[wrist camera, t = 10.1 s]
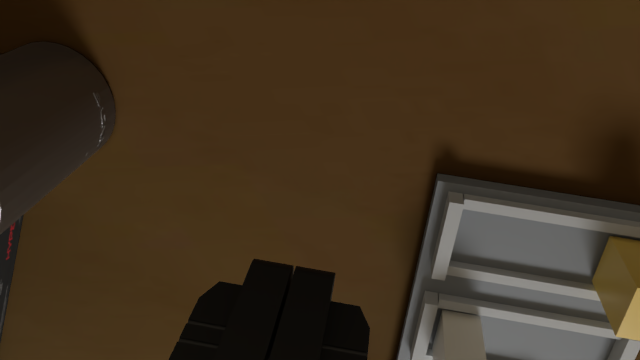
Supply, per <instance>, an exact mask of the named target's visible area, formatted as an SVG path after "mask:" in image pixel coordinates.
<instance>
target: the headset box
mask: <svg viewBox="0 0 640 360" xmlns="http://www.w3.org/2000/svg"><path fill="white" fill-rule="evenodd" d="M22 220H23V215H22V216H21V217H20V218H19V219H18V220H17V221H15V222H14V223H13V224H12V225H11V226H10V227H8V228H7V229H6V230H5V231H4V232H3V233H2V234H0V341H1V336H2V330H3V325H4V319H5V314H6V308H7V303H8V297H9V291H10V285H11V280H12V275H13V270H14V264H15V259H16V253H17V248H18V242H19V237H20V231H21V225H22Z"/></svg>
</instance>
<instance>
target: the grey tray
mask: <svg viewBox="0 0 640 360" xmlns="http://www.w3.org/2000/svg"><path fill="white" fill-rule="evenodd" d="M610 236H614V237H620V238H626V239H632V240H638V241H640V205H634V204H628V203H621V202H615V201H609V200H602V199H596V198H590V197H583V196H577V195H571V194H565V193H558V192H552V191H546V190H539V189H533V188H527V187H520V186H514V185H508V184H502V183H495V182H489V181H483V180H476V179H470V178H464V177H458V176H451V175H445V174H439V173H437V178H436V182H435V187H434V191H433V195H432V200H431V204H430V209H429V213H428V218H427V222H426V227H425V231H424V236H423V240H422V245H421V249H420V254H419V258H418V263H417V267H416V271H415V276H414V280H413V285H412V289H411V294H410V298H409V303H408V307H407V312H406V316H405V321H404V325H403V330H402V334H401V339H400V343H399V347H398V352H397V356H396V360H433V351H432V347H433V343H434V339H435V335H436V331H437V327H438V324H439V320H440V316H441V312H442V310H448V311H453V312H459V313H465V314H470V315H476V316H480V318H481V325H482V332H483V339H484V346H485V353H486V360H635V358H636V356H637V354H638V352H639V349H640V341H638V340H632V339H626V338H621V337H616V336H615V334H614V332H613V329H612V327H611V325H610V322H609V320H608V318H607V315H606V313H605V311H604V308H603V306H602V304H601V301H600V299H599V297H598V294H597V292H596V290H595V287H594V285H593V283H592V279H593V277H594V274H595V272H596V269H597V267H598V264H599V262H600V259H601V257H602V254H603V252H604V249H605V247H606V244H607V242H608V239H609V237H610Z"/></svg>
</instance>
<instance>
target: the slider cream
mask: <svg viewBox="0 0 640 360" xmlns="http://www.w3.org/2000/svg"><path fill="white" fill-rule="evenodd" d="M432 351H433V360H486V353H485V346H484V339H483V332H482V325H481V318H480V316H476V315H470V314H465V313H459V312H453V311H448V310H442V312H441V316H440V320H439V324H438V327H437V331H436V335H435V339H434V343H433V347H432Z"/></svg>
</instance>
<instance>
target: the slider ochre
mask: <svg viewBox="0 0 640 360" xmlns="http://www.w3.org/2000/svg"><path fill="white" fill-rule="evenodd" d="M592 283H593V285H594V287H595V290H596V292H597V294H598V297H599V299H600V301H601V304H602V306H603V308H604V311H605V313H606V315H607V318H608V320H609V322H610V325H611V327H612V329H613V332H614V334H615V336H616V337H621V338H626V339H632V340H638V341H640V241H638V240H632V239H626V238H620V237H614V236H610V237H609V239H608V242H607V244H606V247H605V249H604V252H603V254H602V257H601V259H600V262H599V264H598V267H597V269H596V272H595V274H594V277H593V279H592Z"/></svg>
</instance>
